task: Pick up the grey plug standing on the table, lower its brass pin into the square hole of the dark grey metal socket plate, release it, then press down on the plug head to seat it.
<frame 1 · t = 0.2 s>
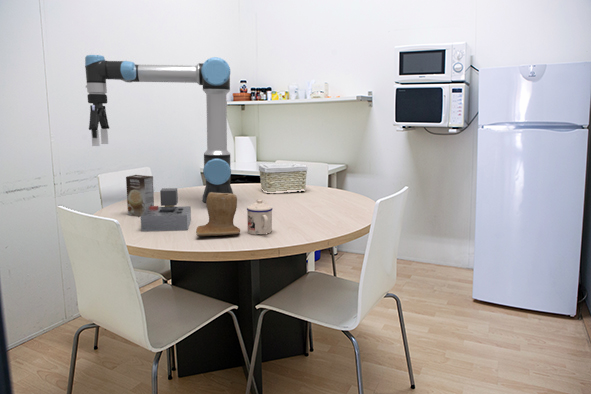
hand: (100, 145, 193), 28 cm above the table, tool pointing down, fingers open, 13 cm apart
coffee box: (141, 215, 188), on the table
storage basket: (282, 192, 248), on the table
teacup with lid: (261, 233, 161), on the table
socket plate: (167, 225, 170), on the table
plug: (169, 216, 186), on the table
brown wooden upright piece: (218, 234, 158), on the table
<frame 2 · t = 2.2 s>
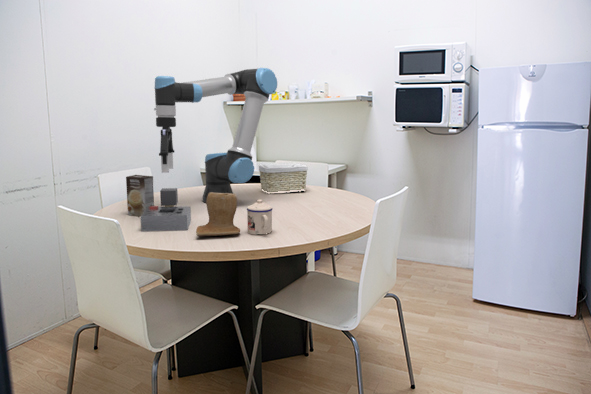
hand: (167, 170, 182), 19 cm above the table, tool pointing down, fingers open, 13 cm apart
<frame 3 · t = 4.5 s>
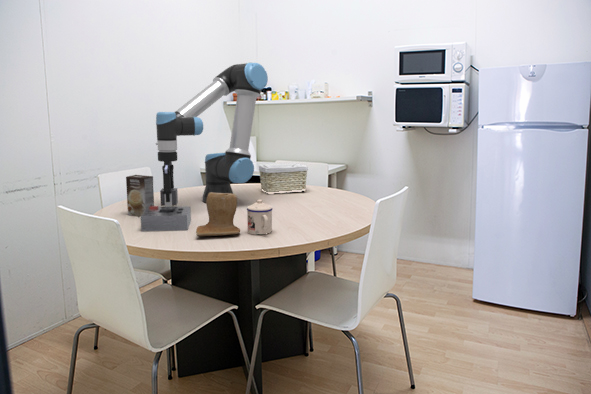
hand: (169, 207, 185), 3 cm above the table, tool pointing down, fingers closed on plug, 6 cm apart
plug: (169, 216, 186), on the table, touching gripper
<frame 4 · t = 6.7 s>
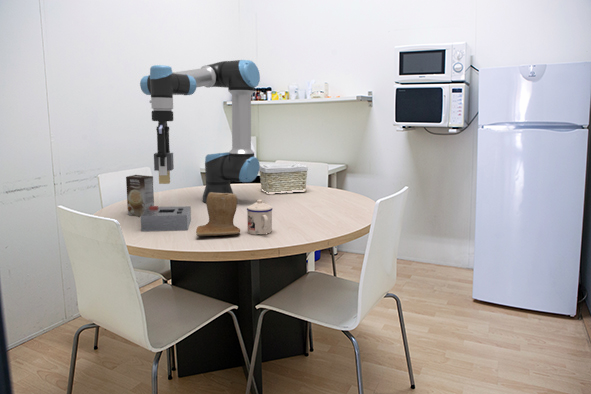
hand: (164, 174, 167), 19 cm above the table, tool pointing down, fingers closed on plug, 6 cm apart
plug: (164, 183, 168), point 16 cm above the table, touching gripper
when the fingers open (7 cm above the table, at t = 8.8 s): plug drops 3 cm, resting on socket plate.
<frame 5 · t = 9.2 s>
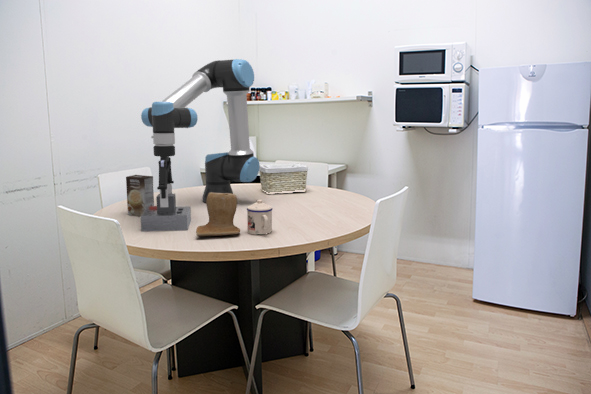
hand: (166, 203, 169), 8 cm above the table, tool pointing down, fingers open, 11 cm apart
plug: (167, 224, 170), resting on socket plate
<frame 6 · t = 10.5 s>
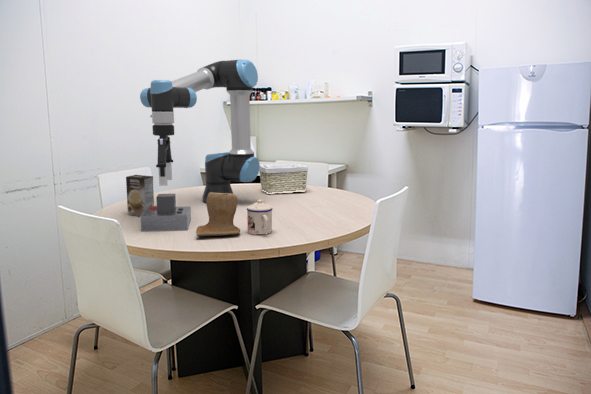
hand: (165, 182, 167), 16 cm above the table, tool pointing down, fingers open, 13 cm apart
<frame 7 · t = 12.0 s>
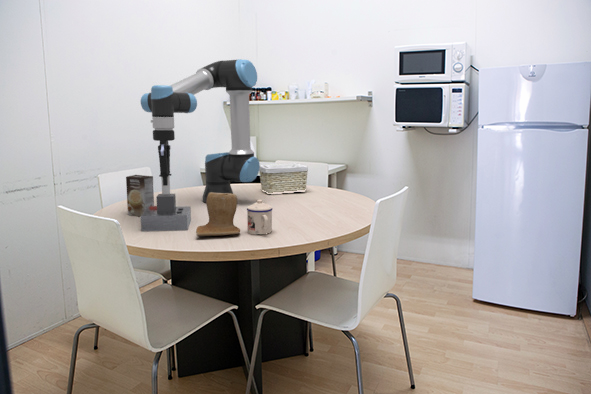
hand: (166, 193, 168), 12 cm above the table, tool pointing down, fingers closed
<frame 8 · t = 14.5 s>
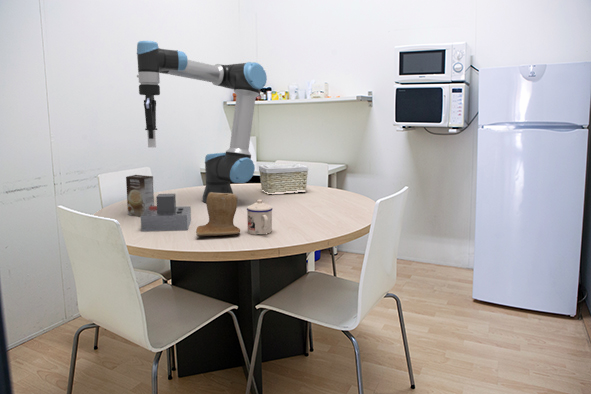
hand: (152, 147, 175), 28 cm above the table, tool pointing down, fingers closed
at the end: plug 0.1 cm off-centre on the socket plate, point 0.5 cm above the socket plate's base; plug tilted 0°; the gripper is holding nothing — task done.
